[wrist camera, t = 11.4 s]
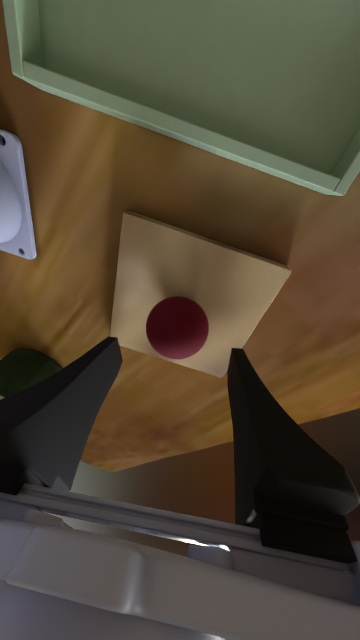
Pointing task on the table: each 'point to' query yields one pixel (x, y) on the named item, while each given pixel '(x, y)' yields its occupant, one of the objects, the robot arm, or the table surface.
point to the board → (190, 287)
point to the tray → (209, 75)
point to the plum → (177, 327)
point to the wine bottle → (24, 370)
